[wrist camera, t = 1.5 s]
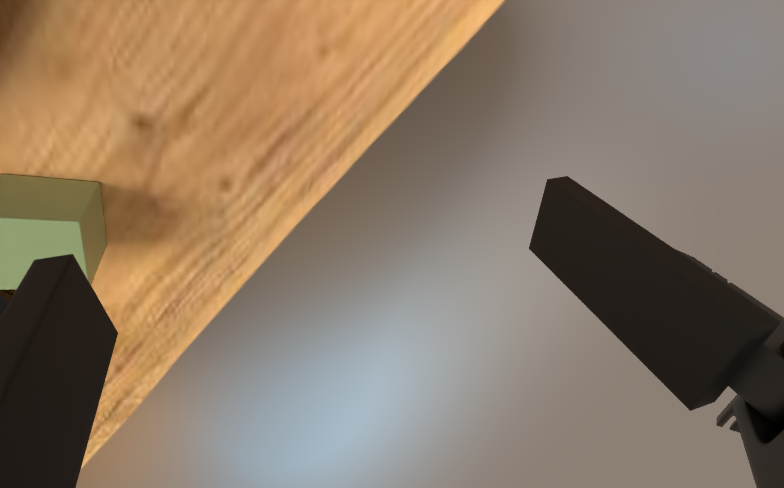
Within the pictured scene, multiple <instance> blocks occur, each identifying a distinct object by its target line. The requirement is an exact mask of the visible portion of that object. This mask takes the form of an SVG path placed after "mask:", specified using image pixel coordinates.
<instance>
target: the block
mask: <svg viewBox="0 0 784 488" xmlns="http://www.w3.org/2000/svg"><path fill="white" fill-rule="evenodd" d="M106 245H107V240H106V231H105V222H104V214H103V205H102V196H101V187H100V182H92V181H80V180H68V179H56V178H44V177H33V176H21V175H9V174H1V175H0V290H16V289H17V288H18V286H19V284H20V283H21V281H22V279H23V278H24V276H25V274H26V273H27V271H28V270H29V268H30V266H31V265H32V263H33V261H34V260H36V259H43V258H49V257H55V256H62V255H68V254H73V255H74V257H75V259H76V260H77V262H78V264H79V266H80V267H81V269H82V271H83V273H84V274H85V276H86V278H87V280H88V281H89V283H90V285H91V284H92V282H93V279H94V276H95V274H96V271H97V269H98V266H99V263H100V261H101V258H102V256H103V253H104V250H105V248H106Z"/></svg>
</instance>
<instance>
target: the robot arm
mask: <svg viewBox="0 0 784 488" xmlns="http://www.w3.org/2000/svg"><path fill="white" fill-rule="evenodd" d="M529 249H530V250H531V251H532V252H533V253H534V254H535V255H536V256H537V257H538V258H539V259H540V260H541V261H542V262H543V263H544V264H545V265H546V266H547V267H548V268H549V269H550V270H551V271H552V272H553V273H554V274H555V275H556V276H557V277H558V278H559V279H560V280H561V281H562V282H563V283H564V284H565V285H566V286H567V287H568V288H569V289H570V290H571V291H572V292H573V293H574V294H575V295H576V296H577V297H578V298H579V299H580V300H581V301H582V302H583V303H584V304H585V305H586V306H587V307H588V308H589V309H590V310H591V311H592V312H593V313H594V314H595V315H596V316H597V317H598V318H599V319H600V320H601V321H602V322H603V323H604V324H605V325H606V326H607V327H608V328H609V329H610V330H611V331H612V332H613V333H614V334H615V335H616V336H617V338H619V340H620V341H622V342H623V344H624V345H626V347H627V348H628V349H629V350H630V351H631V352H633V354H634V355H635V356H637V358H638V359H639V360H640V361H641V362H643V364H644V365H645V366H646V367H647V368H648V369H649V370H650V371H651V372H652V373H653V374H654V375H655V376H656V377H657V378H658V379H659V380H660V381H661V382H662V383H664V385H665V386H666V387H667V388H668V389H669V390H670V391H671V392H672V393H673V394H674V395H675V396H676V397H677V398H678V399H679V400H680V401H681V402H682V403H683V404H684V405H685V406H686V407H687V408H688V409H689V410H690V411H691V410H694V409H696V408H699V407H702V406H704V405H707V404H710V403H712V402H715V401H716V400H717V398H718V397H719V396H720V395H721V393H722V392H723V391H724V390H725V389H726V388H727V386H729V387H731V389H733V390H734V391H735V392H736V393H737V395H736V396H735V398H734V399H733V400H732V401H731V402H730V403H729V404H728V405H727V407H726V408H725V409H724V410H723V411H722V412H721V414H720V415H719V416H718V417H717V426H721V427H723V425H724V424H725V423H726V422H727V421H728V420H729V419H730V418H731V417H732V416H735V417H736V420H735V421H734V422H733V423H732V425H731V426H730V430H733V431H737V432H740V433H741V437H742V440H743V443H744V447H745V450H746V453H747V457H748V460H749V463H750V467H751V470H752V473H753V476H754V480H755V483H756V486H757V488H784V318H783V317H782V316H780V315H779V314H777V313H776V312H774V311H773V310H771V309H770V308H768V307H767V306H765V305H764V304H762V303H761V302H759V301H758V300H756V299H755V298H753V297H752V296H750V295H749V294H747V293H746V292H745V291H743V290H742V289H740V288H739V287H737V286H736V285H734V284H732V283H728V282H727V279H725V278H723V277H722V276H720V275H719V274H718V273H716V272H714V273H713V272H712V269H710V268H709V267H707V266H706V265H704V264H703V263H701V262H700V261H698V260H697V259H695V258H694V257H691V256H689V255H687V254H685V253H683V252H680V251H678V250H676V249H674V248H672V247H671V246H669V245H668V244H666V243H665V242H663V241H662V240H660V239H659V238H657V237H656V236H654V235H653V234H651V233H650V232H649V231H647V230H646V229H644V228H643V227H641V226H640V225H638V224H637V223H635V222H634V221H632V220H631V219H629V218H628V217H626V216H625V215H624V214H622V213H621V212H619V211H618V210H616V209H615V208H613V207H612V206H610V205H609V204H607V203H606V202H605V201H603V200H601V199H600V198H598V197H597V196H596V195H594V194H592V193H591V192H590V191H588V190H587V189H585V188H584V187H582V186H581V185H579V184H578V183H577V182H575V181H574V180H572V179H571V178H569V177H568V176H566V177H560V178H553V179H548V180H547V183H546V186H545V190H544V194H543V198H542V202H541V205H540V209H539V213H538V216H537V220H536V224H535V228H534V231H533V235H532V239H531V243H530V246H529ZM117 335H118V332H117V330H116V329H115V327H114V325H113V323H112V322H111V320H110V318H109V316H108V315H107V313H106V311H105V309H104V308H103V306H102V304H101V302H100V301H99V299H98V297H97V295H96V294H95V292H94V290H93V288H92V287H91V285H90V283H89V281H88V280H87V278H86V276H85V274H84V273H83V271H82V269H81V267H80V266H79V264H78V262H77V260H76V259H75V257H74V255H73V254H68V255H62V256H55V257H49V258H43V259H36V260H34V261H33V263H32V265H31V266H30V268H29V270H28V271H27V273H26V274H25V276H24V278H23V279H22V281H21V283H20V284H19V286H18V288H17V289H16V291H15V293H14V294H13V296H12V298H11V299H10V301H9V303H8V304H7V306H6V308H5V309H4V311H3V313H2V314H1V316H0V488H75V487H76V483H77V480H78V476H79V473H80V469H81V465H82V462H83V458H84V454H85V451H86V447H87V444H88V440H89V436H90V433H91V429H92V425H93V422H94V418H95V415H96V411H97V407H98V404H99V400H100V396H101V393H102V389H103V386H104V382H105V378H106V375H107V371H108V367H109V364H110V360H111V357H112V353H113V349H114V346H115V342H116V338H117Z"/></svg>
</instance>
